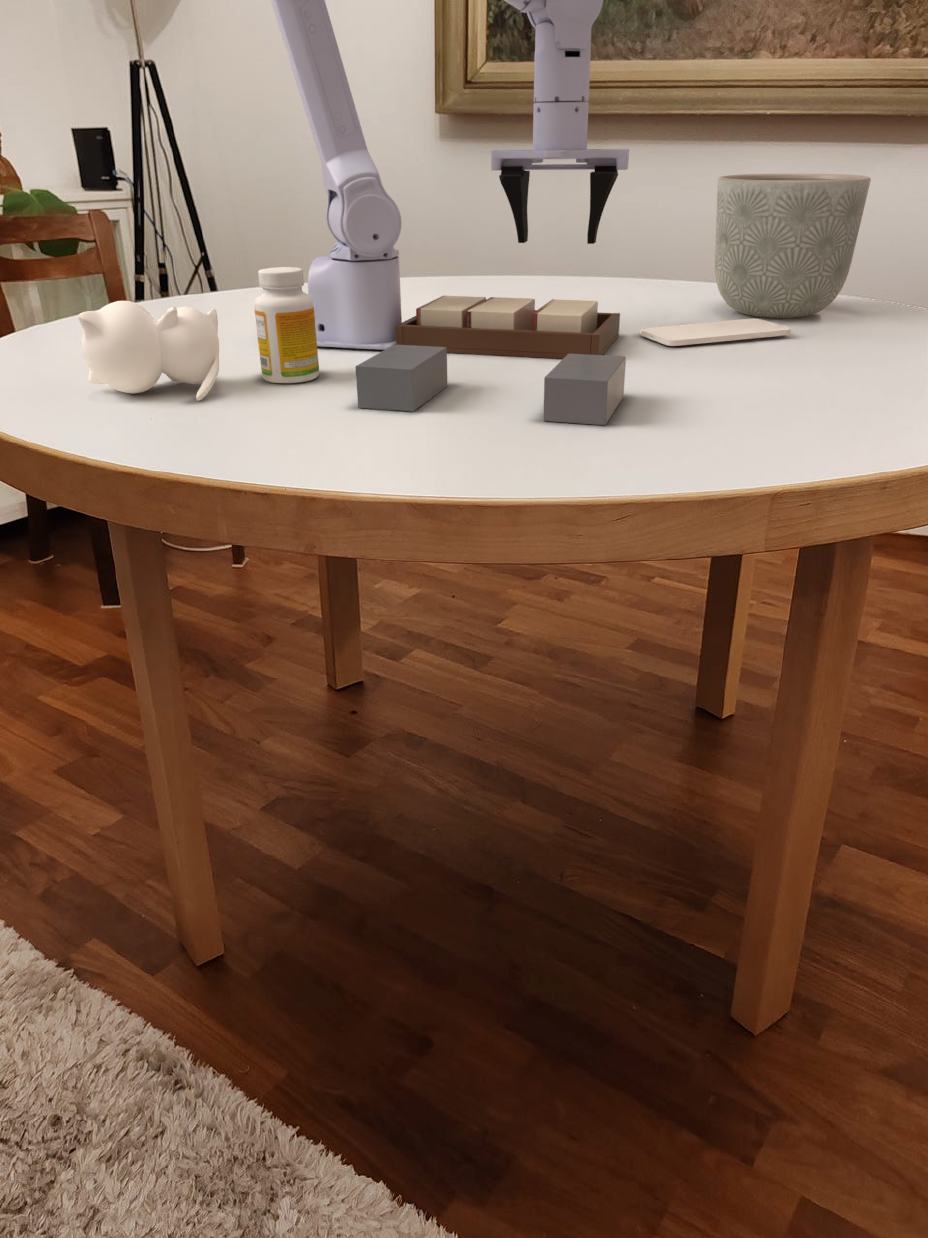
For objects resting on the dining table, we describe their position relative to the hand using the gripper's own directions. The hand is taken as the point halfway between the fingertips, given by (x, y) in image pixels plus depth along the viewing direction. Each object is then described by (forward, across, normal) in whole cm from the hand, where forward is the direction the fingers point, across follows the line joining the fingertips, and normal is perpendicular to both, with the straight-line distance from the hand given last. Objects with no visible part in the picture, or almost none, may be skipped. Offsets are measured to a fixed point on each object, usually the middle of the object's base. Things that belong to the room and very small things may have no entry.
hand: (556, 242), depth 105 cm
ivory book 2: (+9, -4, -8) cm, 13 cm away
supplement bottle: (+10, -21, -28) cm, 36 cm away
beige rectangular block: (+9, +3, -9) cm, 13 cm away
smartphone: (+9, +18, -1) cm, 20 cm away
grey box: (+9, +8, -34) cm, 36 cm away
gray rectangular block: (+9, -8, -32) cm, 35 cm away
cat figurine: (+10, -30, -35) cm, 47 cm away
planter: (+10, +25, +15) cm, 31 cm away
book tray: (+9, -4, -8) cm, 13 cm away
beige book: (+9, -10, -8) cm, 16 cm away
